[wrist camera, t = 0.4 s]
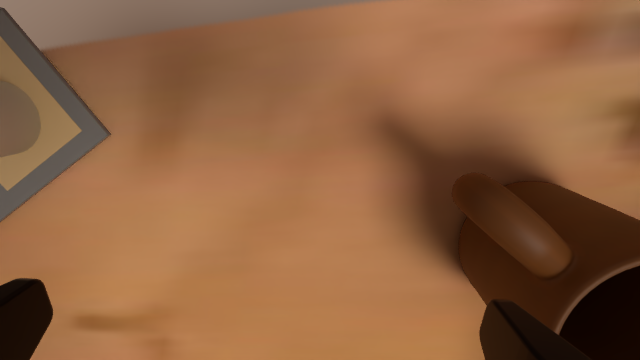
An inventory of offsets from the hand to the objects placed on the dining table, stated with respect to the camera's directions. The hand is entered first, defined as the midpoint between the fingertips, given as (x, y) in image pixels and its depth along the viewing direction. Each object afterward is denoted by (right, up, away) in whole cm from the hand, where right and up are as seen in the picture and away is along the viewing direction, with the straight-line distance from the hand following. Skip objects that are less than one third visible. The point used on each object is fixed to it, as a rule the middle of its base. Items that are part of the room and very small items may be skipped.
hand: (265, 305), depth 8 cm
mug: (+11, 0, +14) cm, 18 cm away
